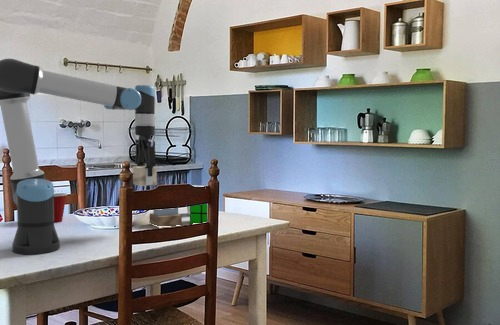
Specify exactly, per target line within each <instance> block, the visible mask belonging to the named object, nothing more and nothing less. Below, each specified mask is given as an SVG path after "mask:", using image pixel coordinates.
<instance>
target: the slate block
mask: <svg viewBox="0 0 500 325" xmlns="http://www.w3.org/2000/svg"><path fill="white" fill-rule="evenodd" d="M152 213H153V214H154V215H157V216H165V215H176V214H179V207H178V208H174V209H162V210H153V212H152Z"/></svg>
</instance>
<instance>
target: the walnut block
mask: <svg viewBox="0 0 500 325" xmlns="http://www.w3.org/2000/svg"><path fill="white" fill-rule="evenodd" d="M182 218H183V217H182V214H179V213H178V214H176V215H165V216H157V215H154V214H153V212H152V213H151V212H149V224H150V223H151V224H154V225H157V226H176V225H182V224H183V223H182V222H183V220H182ZM182 226H183V225H182Z"/></svg>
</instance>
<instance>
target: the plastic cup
mask: <svg viewBox="0 0 500 325" xmlns="http://www.w3.org/2000/svg"><path fill="white" fill-rule="evenodd" d="M67 196H68V193H66V192H65V193H64V192H63V193H62V192H61V193H54V224H57V223H61V222H62V221H63V219H64V218H63V217H64V214H65V213H64V210H65V206H66V205H65V204H66V199H67Z"/></svg>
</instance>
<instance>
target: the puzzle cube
mask: <svg viewBox="0 0 500 325" xmlns="http://www.w3.org/2000/svg"><path fill="white" fill-rule="evenodd" d="M203 222H207V204H202V205H195V206H190V215H189V225H192V224H193V223H203Z"/></svg>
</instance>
